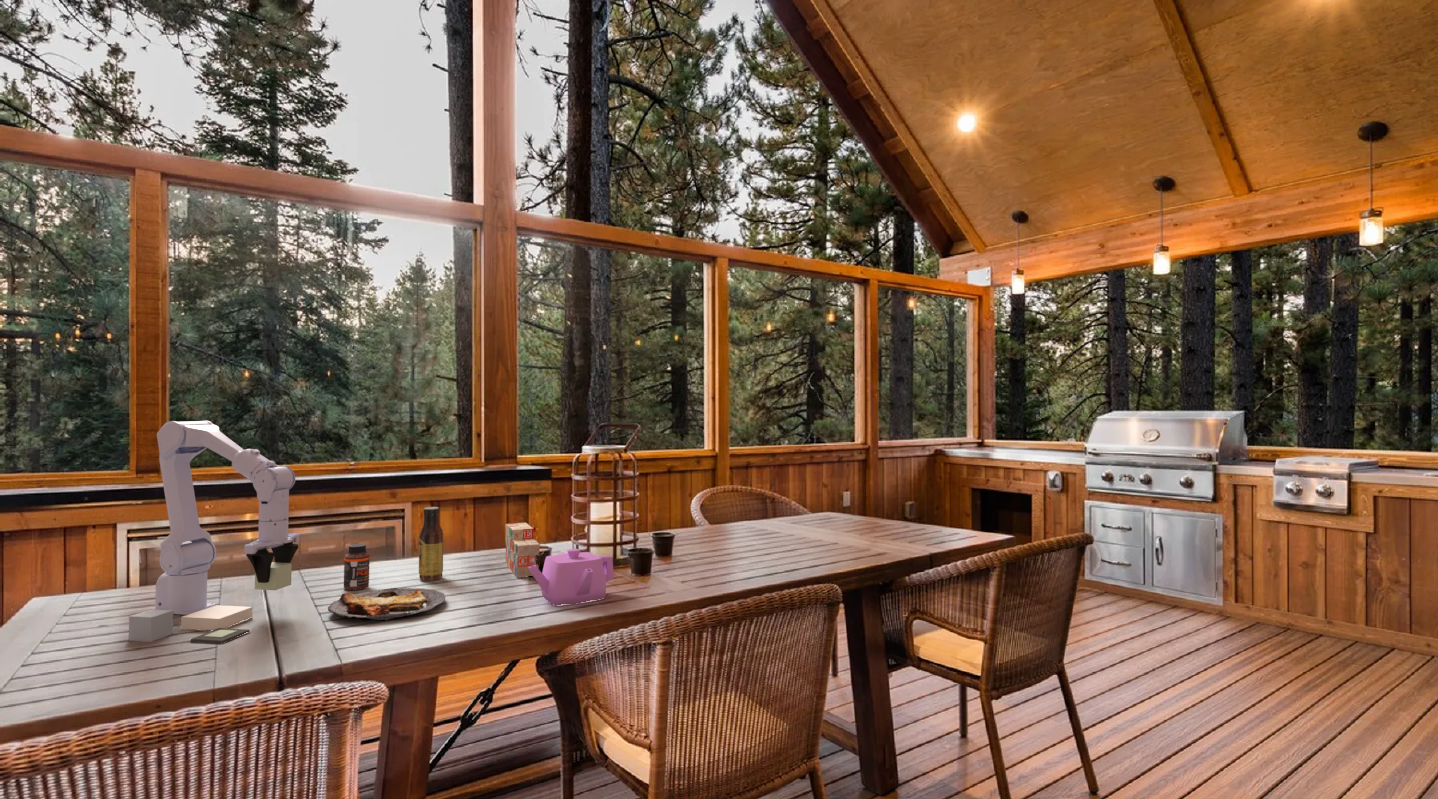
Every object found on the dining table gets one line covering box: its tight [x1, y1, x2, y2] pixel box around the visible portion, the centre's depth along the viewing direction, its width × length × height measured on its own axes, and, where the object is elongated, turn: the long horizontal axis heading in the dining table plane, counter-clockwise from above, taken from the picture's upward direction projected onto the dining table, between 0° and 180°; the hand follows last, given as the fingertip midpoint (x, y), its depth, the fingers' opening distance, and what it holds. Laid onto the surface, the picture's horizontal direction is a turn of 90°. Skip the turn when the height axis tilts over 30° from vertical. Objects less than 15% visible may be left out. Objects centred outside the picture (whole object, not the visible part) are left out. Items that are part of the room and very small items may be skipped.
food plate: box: [327, 586, 446, 621], centre depth 166 cm, size 25×23×4 cm
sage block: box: [254, 561, 293, 591], centre depth 159 cm, size 5×5×5 cm
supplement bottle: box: [343, 543, 371, 591], centre depth 184 cm, size 6×6×11 cm
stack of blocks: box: [505, 522, 541, 579], centre depth 207 cm, size 21×6×12 cm, turn 26°
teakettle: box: [528, 548, 615, 605], centre depth 177 cm, size 17×17×12 cm
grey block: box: [128, 608, 174, 643], centre depth 144 cm, size 5×5×5 cm
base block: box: [180, 604, 253, 631], centre depth 153 cm, size 9×9×3 cm
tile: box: [190, 628, 250, 644], centre depth 145 cm, size 7×7×1 cm
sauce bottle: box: [418, 506, 444, 582], centre depth 194 cm, size 6×6×20 cm
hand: (272, 579), depth 159 cm, fingers closed on sage block, 5 cm apart
